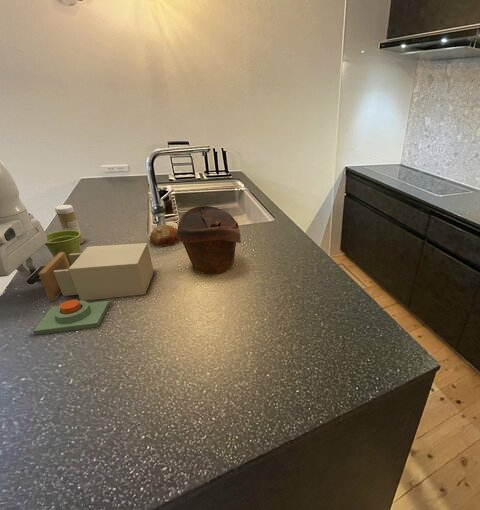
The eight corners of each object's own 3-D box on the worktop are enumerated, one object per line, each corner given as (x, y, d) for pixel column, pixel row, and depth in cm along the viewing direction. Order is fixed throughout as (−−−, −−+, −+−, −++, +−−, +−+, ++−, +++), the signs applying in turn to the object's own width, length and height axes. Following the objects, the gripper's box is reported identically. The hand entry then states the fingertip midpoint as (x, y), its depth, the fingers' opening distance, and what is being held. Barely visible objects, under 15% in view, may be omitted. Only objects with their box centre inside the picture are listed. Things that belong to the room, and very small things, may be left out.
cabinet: (80, 301, 80) (68, 268, 75) (97, 276, 91) (87, 246, 86) (145, 294, 85) (137, 263, 80) (153, 271, 95) (147, 242, 91)
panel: (34, 335, 68) (29, 324, 67) (53, 310, 76) (49, 300, 75) (98, 326, 72) (94, 316, 71) (110, 304, 80) (107, 294, 78)
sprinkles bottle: (65, 243, 107) (51, 206, 100) (80, 239, 110) (67, 203, 104) (72, 246, 105) (58, 209, 99) (87, 242, 108) (75, 206, 102)
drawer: (28, 302, 77) (15, 275, 73) (50, 278, 86) (39, 253, 83) (112, 293, 82) (104, 268, 79) (124, 272, 92) (117, 248, 88)
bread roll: (160, 244, 119) (146, 228, 114) (185, 232, 120) (172, 215, 116) (157, 256, 111) (141, 238, 106) (183, 243, 112) (169, 225, 107)
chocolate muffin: (222, 285, 91) (215, 230, 83) (168, 270, 96) (157, 217, 88) (255, 260, 106) (252, 211, 98) (208, 248, 112) (201, 201, 103)
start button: (59, 315, 71) (56, 309, 70) (65, 306, 74) (63, 300, 73) (78, 313, 72) (75, 307, 71) (83, 304, 75) (81, 298, 74)
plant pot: (50, 271, 91) (39, 245, 87) (50, 258, 97) (40, 233, 93) (89, 263, 96) (81, 238, 93) (87, 251, 103) (79, 227, 99)
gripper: (14, 210, 80) (34, 256, 87) (-43, 243, 63) (-12, 297, 70) (43, 209, 82) (62, 254, 89) (-4, 240, 65) (23, 294, 71)
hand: (29, 273), depth 79 cm, fingers closed, pressing on drawer
